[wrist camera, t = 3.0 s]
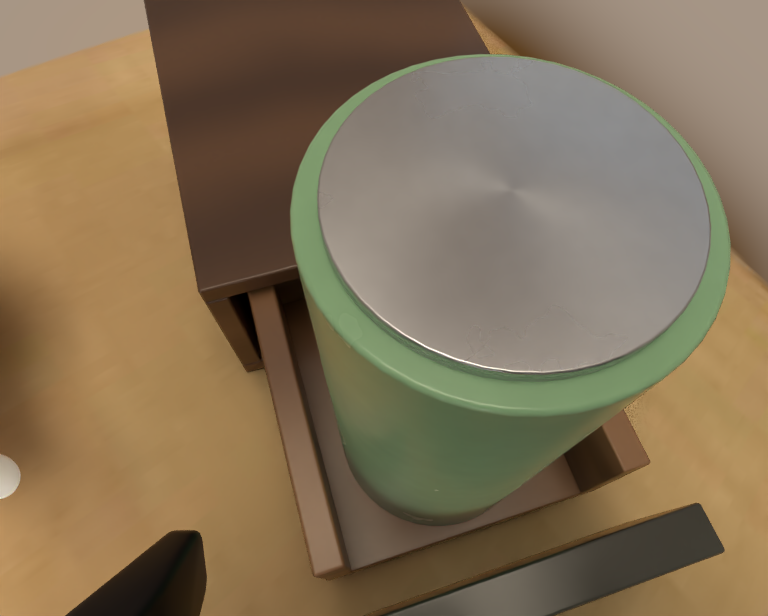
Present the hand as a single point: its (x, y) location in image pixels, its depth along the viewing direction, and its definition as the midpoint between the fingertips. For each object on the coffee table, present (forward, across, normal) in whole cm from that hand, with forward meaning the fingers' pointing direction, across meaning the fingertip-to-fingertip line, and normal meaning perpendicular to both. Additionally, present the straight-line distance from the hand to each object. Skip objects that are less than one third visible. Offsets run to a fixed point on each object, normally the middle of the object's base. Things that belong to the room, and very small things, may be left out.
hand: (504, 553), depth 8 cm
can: (+10, 0, +4) cm, 10 cm away
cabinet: (+18, +3, -3) cm, 19 cm away
